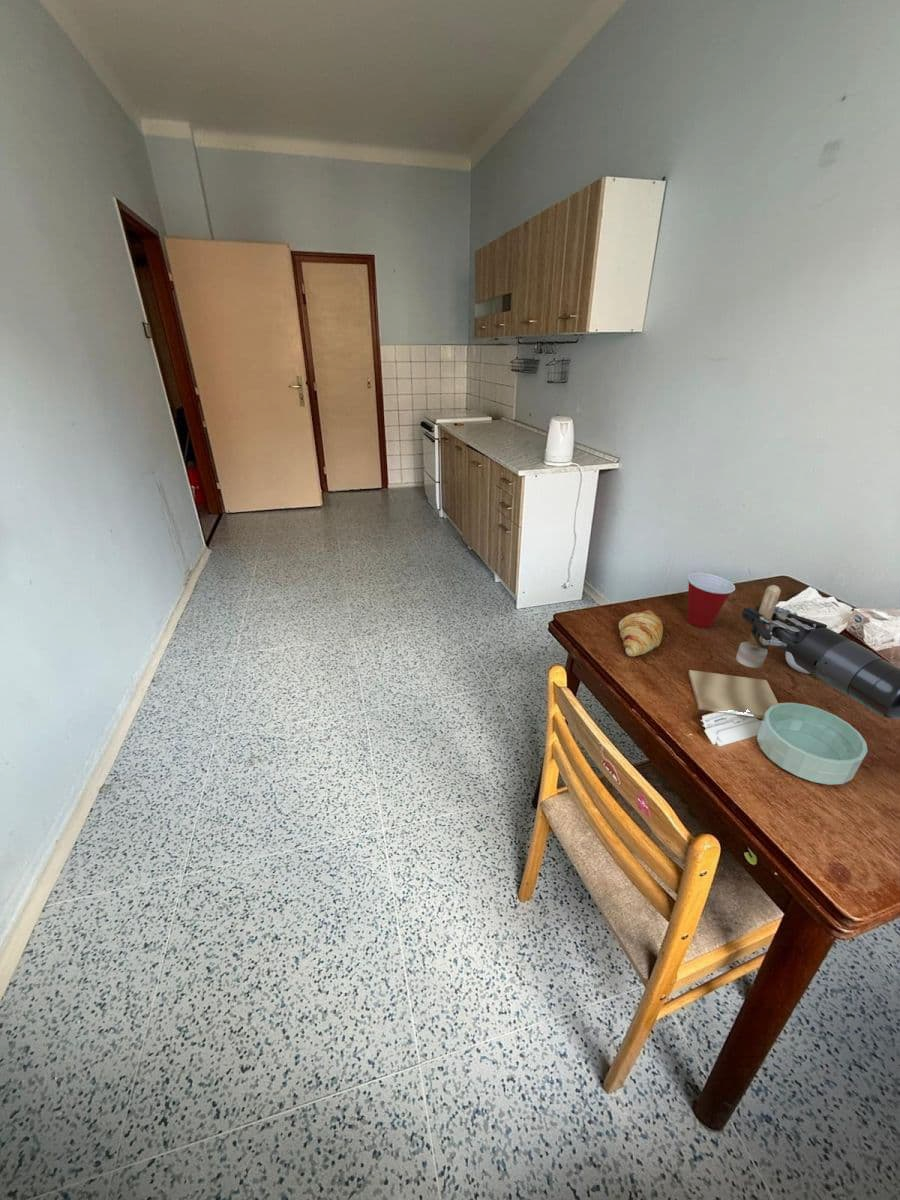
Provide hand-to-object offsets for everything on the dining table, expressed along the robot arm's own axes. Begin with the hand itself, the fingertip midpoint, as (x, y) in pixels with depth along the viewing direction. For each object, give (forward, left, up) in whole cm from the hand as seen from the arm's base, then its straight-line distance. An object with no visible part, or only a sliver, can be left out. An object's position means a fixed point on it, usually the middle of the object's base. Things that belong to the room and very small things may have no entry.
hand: (750, 611), depth 89 cm
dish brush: (-1, +3, -9) cm, 10 cm away
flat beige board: (-1, +2, -19) cm, 19 cm away
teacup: (-19, -12, -19) cm, 30 cm away
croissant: (+16, -16, -19) cm, 30 cm away
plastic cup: (0, -28, -19) cm, 34 cm away
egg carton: (-18, -30, -19) cm, 40 cm away
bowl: (-9, +16, -19) cm, 26 cm away
